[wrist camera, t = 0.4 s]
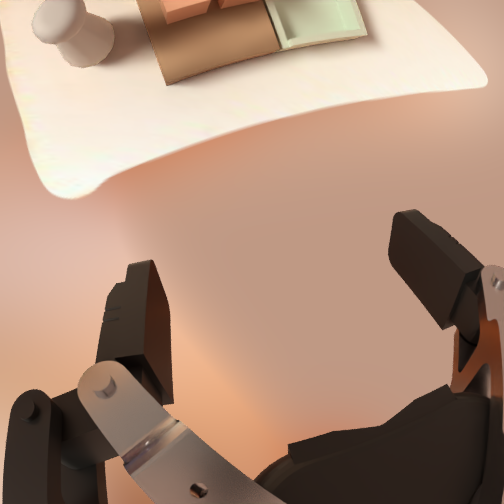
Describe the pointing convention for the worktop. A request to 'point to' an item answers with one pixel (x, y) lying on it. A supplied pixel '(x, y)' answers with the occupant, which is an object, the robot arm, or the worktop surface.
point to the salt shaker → (74, 31)
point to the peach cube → (232, 2)
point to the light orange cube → (182, 9)
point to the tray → (314, 21)
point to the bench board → (207, 38)
